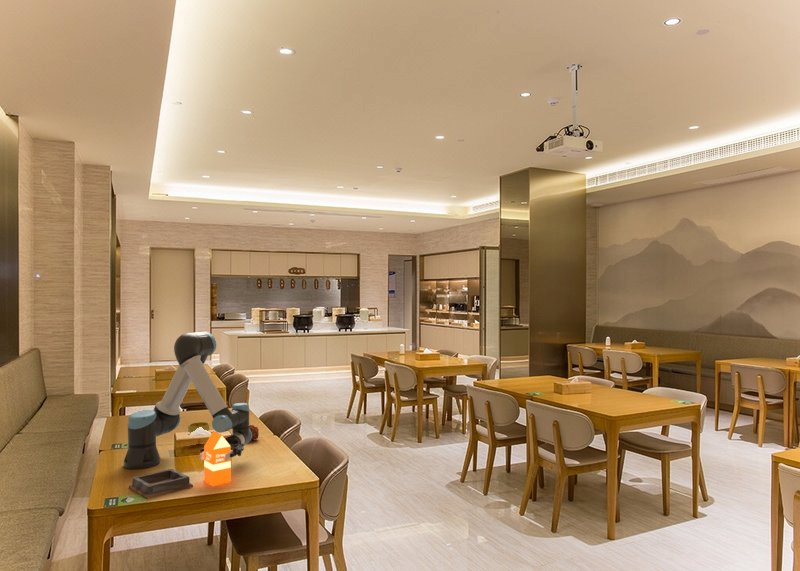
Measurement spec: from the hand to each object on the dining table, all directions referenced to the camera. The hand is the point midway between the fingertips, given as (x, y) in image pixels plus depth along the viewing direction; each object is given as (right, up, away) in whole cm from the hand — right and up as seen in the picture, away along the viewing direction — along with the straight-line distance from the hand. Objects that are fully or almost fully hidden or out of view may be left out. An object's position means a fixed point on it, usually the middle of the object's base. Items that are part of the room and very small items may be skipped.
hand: (213, 457), depth 231 cm
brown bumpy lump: (-4, -12, +72) cm, 73 cm away
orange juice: (0, -11, +4) cm, 12 cm away
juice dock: (-20, -11, -2) cm, 23 cm away
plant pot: (-29, -13, +66) cm, 74 cm away
